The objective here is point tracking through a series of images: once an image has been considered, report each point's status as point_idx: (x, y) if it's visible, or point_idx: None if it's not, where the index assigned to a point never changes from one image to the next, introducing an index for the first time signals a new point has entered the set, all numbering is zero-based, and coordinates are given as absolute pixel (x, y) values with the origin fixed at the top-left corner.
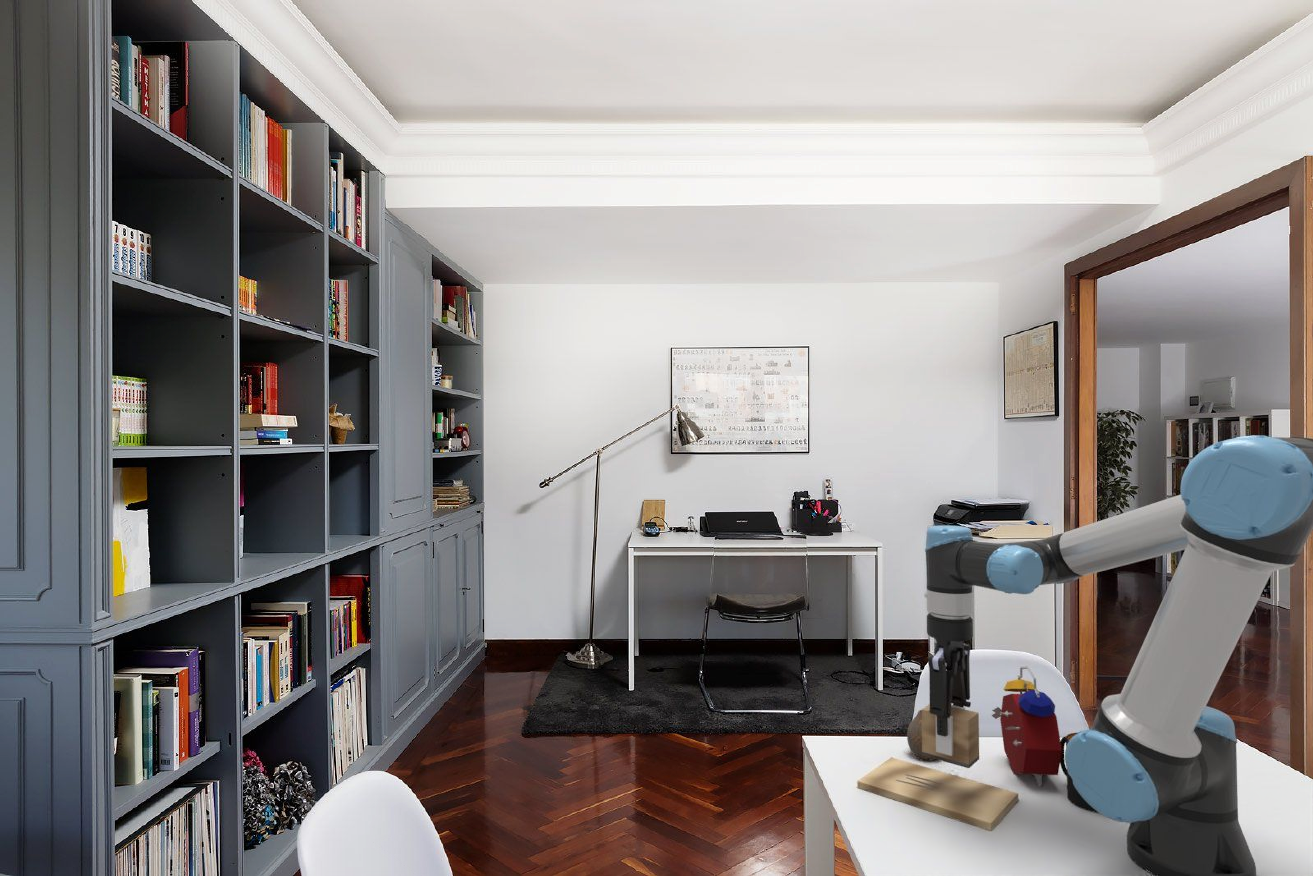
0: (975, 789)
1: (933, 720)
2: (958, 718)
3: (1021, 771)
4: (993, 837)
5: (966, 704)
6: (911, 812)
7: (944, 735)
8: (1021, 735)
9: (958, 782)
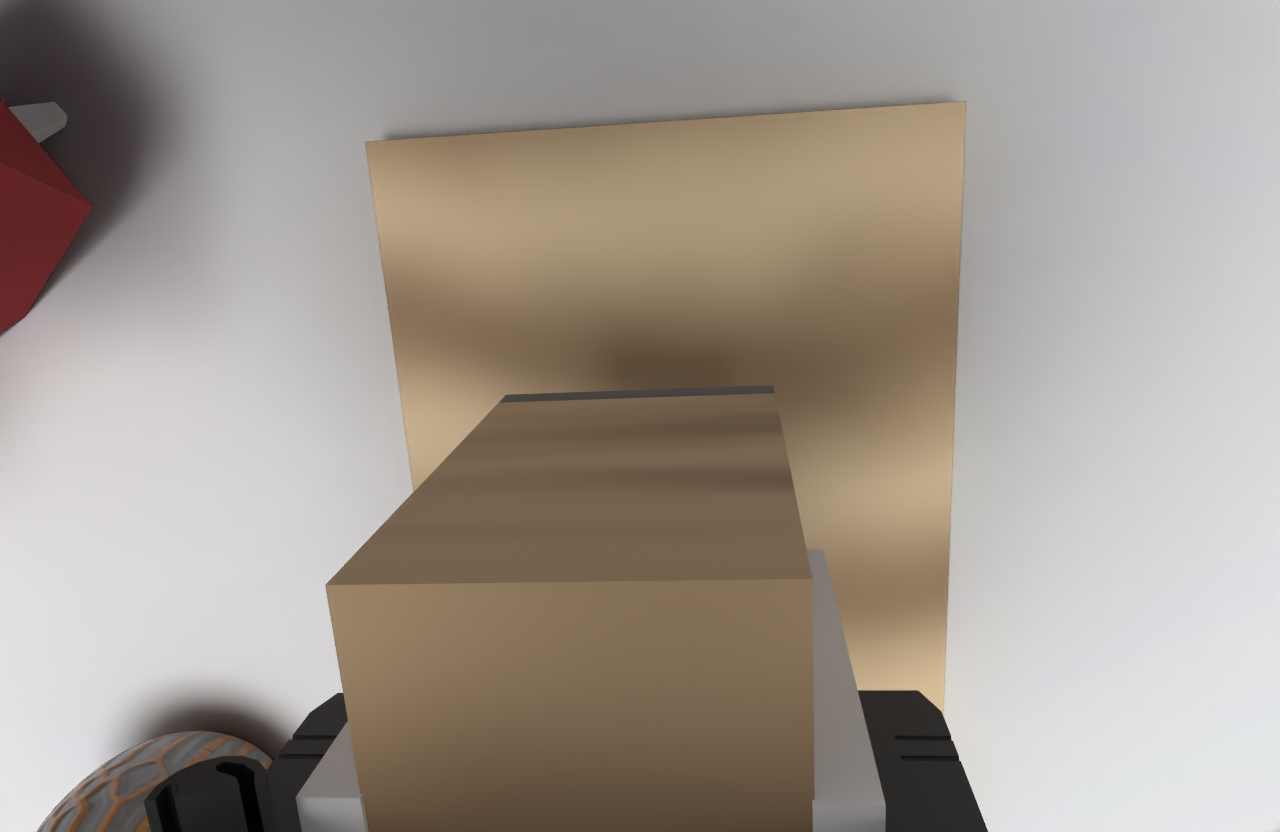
0: (528, 377)
1: None
2: (811, 721)
3: (74, 223)
4: (1029, 58)
5: (246, 820)
6: (1026, 565)
7: (926, 710)
8: None
9: None
